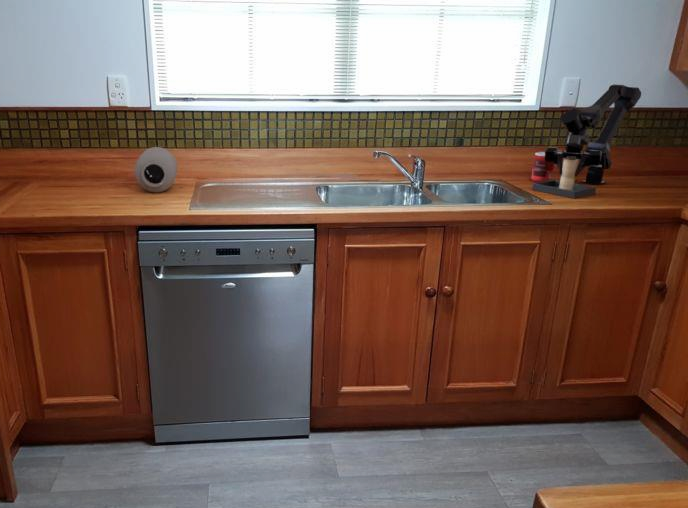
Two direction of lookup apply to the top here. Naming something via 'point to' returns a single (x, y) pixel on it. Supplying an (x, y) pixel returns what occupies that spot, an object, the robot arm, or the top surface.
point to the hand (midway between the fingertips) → (567, 175)
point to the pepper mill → (568, 173)
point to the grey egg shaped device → (155, 169)
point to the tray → (554, 188)
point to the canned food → (542, 168)
